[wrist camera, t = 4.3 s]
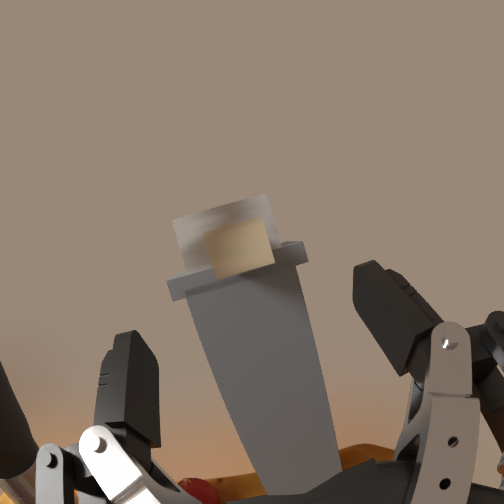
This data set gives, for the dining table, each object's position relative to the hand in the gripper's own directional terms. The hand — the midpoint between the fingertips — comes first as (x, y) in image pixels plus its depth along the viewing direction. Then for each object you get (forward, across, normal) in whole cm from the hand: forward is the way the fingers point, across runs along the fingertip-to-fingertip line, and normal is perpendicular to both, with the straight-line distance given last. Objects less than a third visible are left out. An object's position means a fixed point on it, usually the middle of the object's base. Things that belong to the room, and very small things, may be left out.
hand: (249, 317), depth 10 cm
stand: (-4, 0, +33) cm, 33 cm away
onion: (-3, +14, +34) cm, 37 cm away
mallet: (+8, 0, +3) cm, 9 cm away
